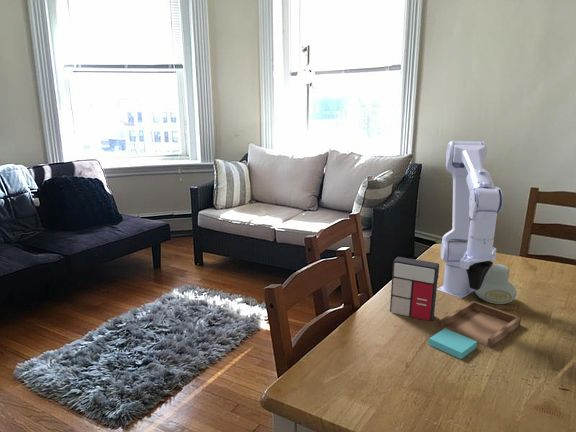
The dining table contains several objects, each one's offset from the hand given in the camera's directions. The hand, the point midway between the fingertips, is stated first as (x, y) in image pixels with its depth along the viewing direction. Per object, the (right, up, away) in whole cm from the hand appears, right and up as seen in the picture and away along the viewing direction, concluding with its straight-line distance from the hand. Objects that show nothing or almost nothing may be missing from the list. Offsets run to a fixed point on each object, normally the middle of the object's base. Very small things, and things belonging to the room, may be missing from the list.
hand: (474, 288), depth 112 cm
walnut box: (+1, -10, 0) cm, 10 cm away
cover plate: (-9, -13, -9) cm, 18 cm away
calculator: (-14, -8, +6) cm, 18 cm away
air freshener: (+12, -6, +15) cm, 20 cm away
